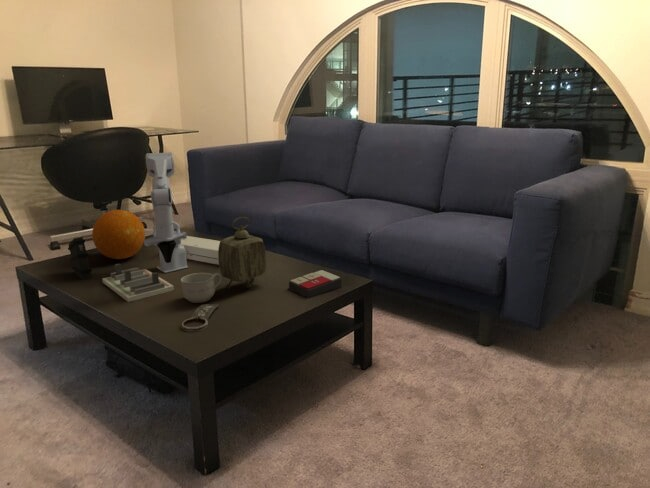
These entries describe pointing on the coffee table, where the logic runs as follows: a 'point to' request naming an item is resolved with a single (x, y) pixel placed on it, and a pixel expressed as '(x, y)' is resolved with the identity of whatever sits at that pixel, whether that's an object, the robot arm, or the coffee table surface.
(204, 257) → the laminator
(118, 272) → the block
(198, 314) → the metal bottle opener
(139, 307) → the coffee table surface
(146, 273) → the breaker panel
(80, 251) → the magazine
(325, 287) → the red white labeled box
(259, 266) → the tabletop clock
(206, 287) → the teacup
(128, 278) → the breaker mid
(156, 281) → the breaker
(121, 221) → the decorative sphere
